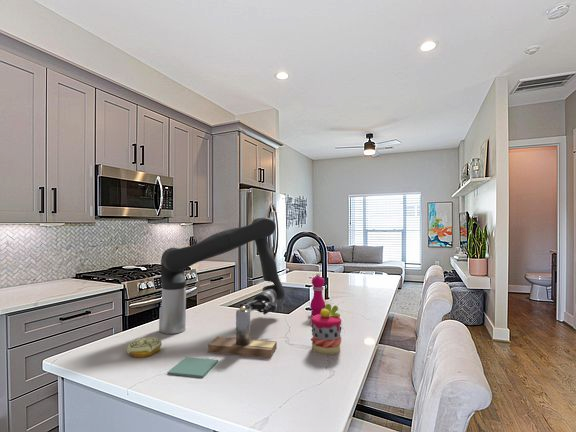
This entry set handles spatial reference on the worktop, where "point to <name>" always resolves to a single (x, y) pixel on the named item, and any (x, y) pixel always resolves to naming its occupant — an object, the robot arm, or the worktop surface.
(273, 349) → the plane body
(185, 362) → the felt mat
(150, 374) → the worktop surface
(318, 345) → the cake
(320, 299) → the pepper mill
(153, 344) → the decorated donut
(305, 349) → the worktop surface
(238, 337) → the cylinder with brass knob
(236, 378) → the worktop surface
